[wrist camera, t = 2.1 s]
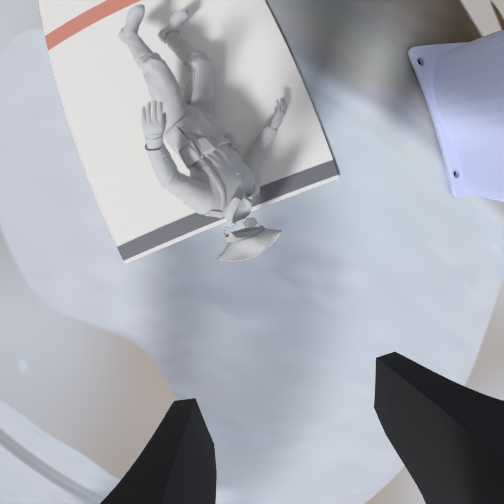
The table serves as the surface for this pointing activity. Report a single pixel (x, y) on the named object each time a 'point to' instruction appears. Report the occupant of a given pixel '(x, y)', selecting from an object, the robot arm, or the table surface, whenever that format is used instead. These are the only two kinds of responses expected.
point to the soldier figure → (200, 138)
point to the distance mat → (225, 103)
